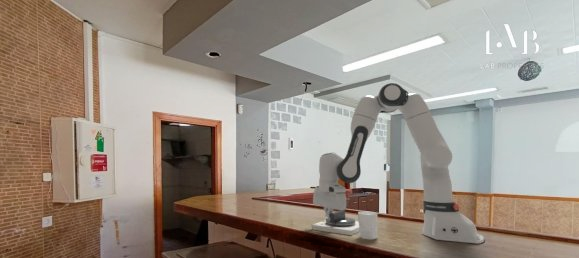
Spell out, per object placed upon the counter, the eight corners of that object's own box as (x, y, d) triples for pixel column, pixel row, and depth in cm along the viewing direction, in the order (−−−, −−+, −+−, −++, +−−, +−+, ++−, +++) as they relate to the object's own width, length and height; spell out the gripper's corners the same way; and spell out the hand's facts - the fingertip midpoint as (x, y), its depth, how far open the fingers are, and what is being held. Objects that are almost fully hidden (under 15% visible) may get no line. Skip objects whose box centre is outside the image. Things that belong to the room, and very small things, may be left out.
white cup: (379, 236, 119) (378, 212, 120) (377, 240, 112) (376, 215, 113) (360, 234, 122) (359, 210, 123) (357, 238, 115) (356, 213, 116)
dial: (333, 219, 144) (333, 208, 145) (359, 222, 136) (359, 210, 137) (318, 224, 132) (318, 212, 132) (346, 228, 124) (346, 215, 124)
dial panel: (368, 226, 136) (368, 222, 137) (351, 235, 120) (351, 230, 121) (331, 221, 148) (331, 217, 148) (311, 229, 132) (311, 224, 132)
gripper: (310, 185, 139) (309, 214, 138) (337, 189, 122) (338, 222, 121) (320, 185, 143) (320, 213, 141) (348, 188, 126) (348, 220, 124)
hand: (328, 217), depth 131 cm, fingers closed
